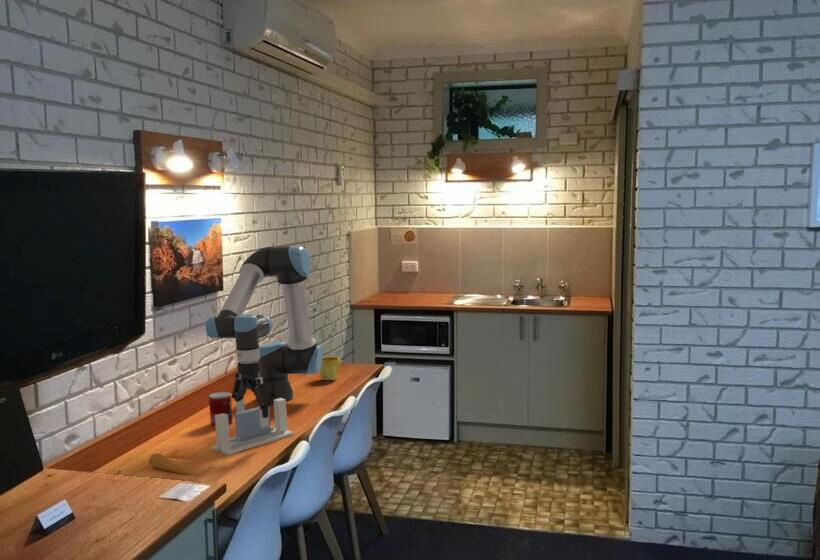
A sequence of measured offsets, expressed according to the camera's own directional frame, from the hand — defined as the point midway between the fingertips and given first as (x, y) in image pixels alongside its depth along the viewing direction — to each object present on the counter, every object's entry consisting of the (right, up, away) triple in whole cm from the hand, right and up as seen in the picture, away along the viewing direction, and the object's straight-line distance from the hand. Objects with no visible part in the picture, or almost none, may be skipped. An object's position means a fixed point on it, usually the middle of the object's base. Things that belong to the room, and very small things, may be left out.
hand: (252, 423), depth 243 cm
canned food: (-16, -5, +23) cm, 29 cm away
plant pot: (+16, +3, +86) cm, 87 cm away
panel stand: (0, -6, 0) cm, 6 cm away
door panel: (0, -5, 0) cm, 5 cm away
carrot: (-18, -10, -25) cm, 33 cm away
